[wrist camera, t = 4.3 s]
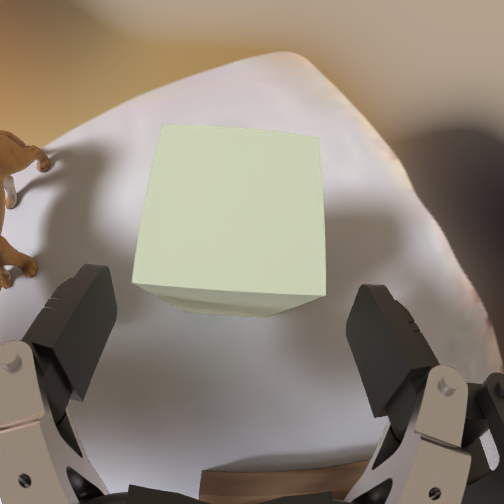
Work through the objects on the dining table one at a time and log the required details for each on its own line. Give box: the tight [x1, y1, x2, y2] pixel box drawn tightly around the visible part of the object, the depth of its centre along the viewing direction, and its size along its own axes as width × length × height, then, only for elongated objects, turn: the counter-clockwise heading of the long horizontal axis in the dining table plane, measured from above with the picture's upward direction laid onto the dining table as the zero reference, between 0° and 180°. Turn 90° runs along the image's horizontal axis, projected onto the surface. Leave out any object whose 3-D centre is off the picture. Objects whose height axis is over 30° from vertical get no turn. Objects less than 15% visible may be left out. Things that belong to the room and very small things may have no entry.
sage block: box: [132, 125, 326, 317], centre depth 12 cm, size 4×4×10 cm
